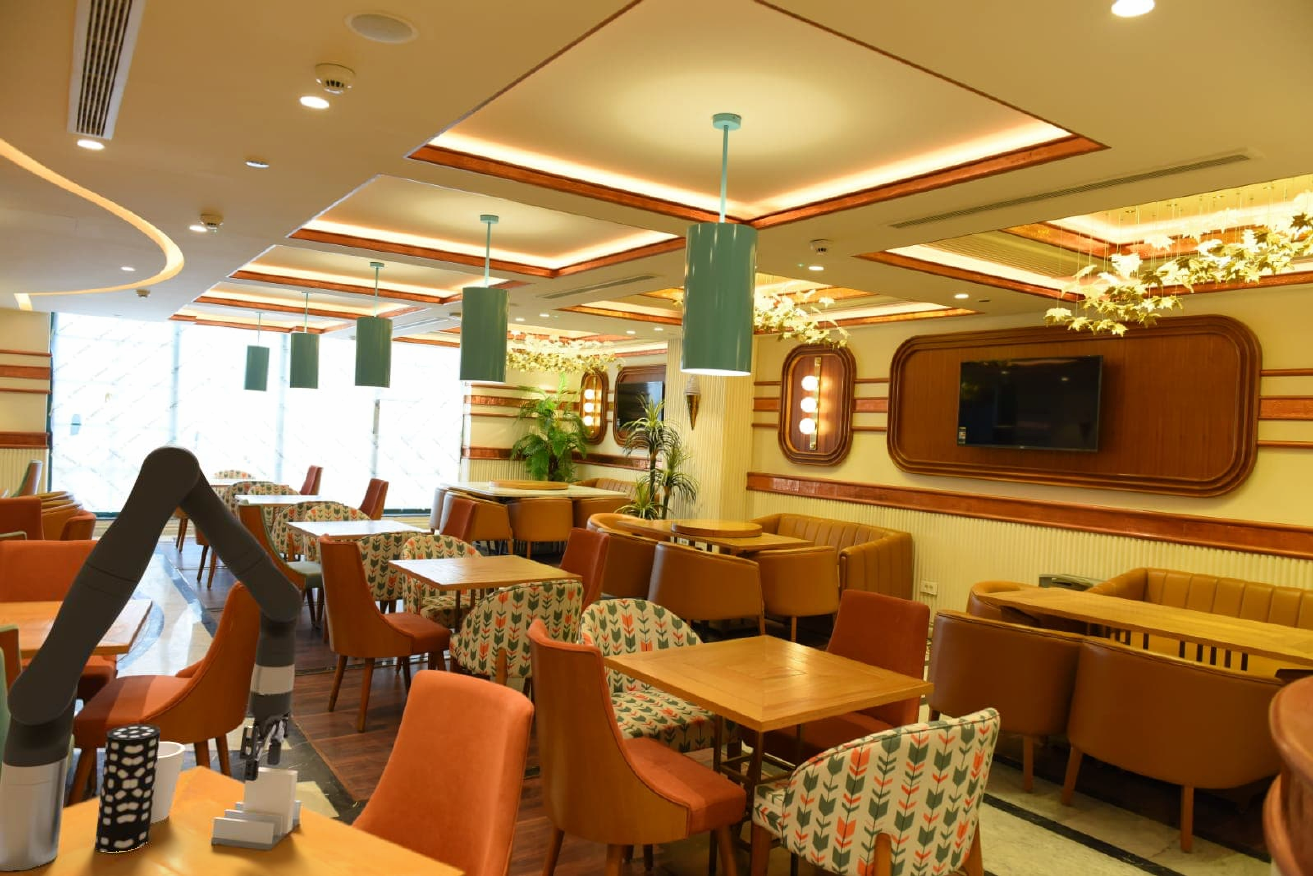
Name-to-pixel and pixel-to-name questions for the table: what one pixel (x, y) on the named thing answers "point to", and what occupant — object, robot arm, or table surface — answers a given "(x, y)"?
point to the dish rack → (251, 828)
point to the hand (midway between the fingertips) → (262, 772)
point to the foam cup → (166, 778)
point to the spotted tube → (127, 788)
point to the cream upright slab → (272, 794)
